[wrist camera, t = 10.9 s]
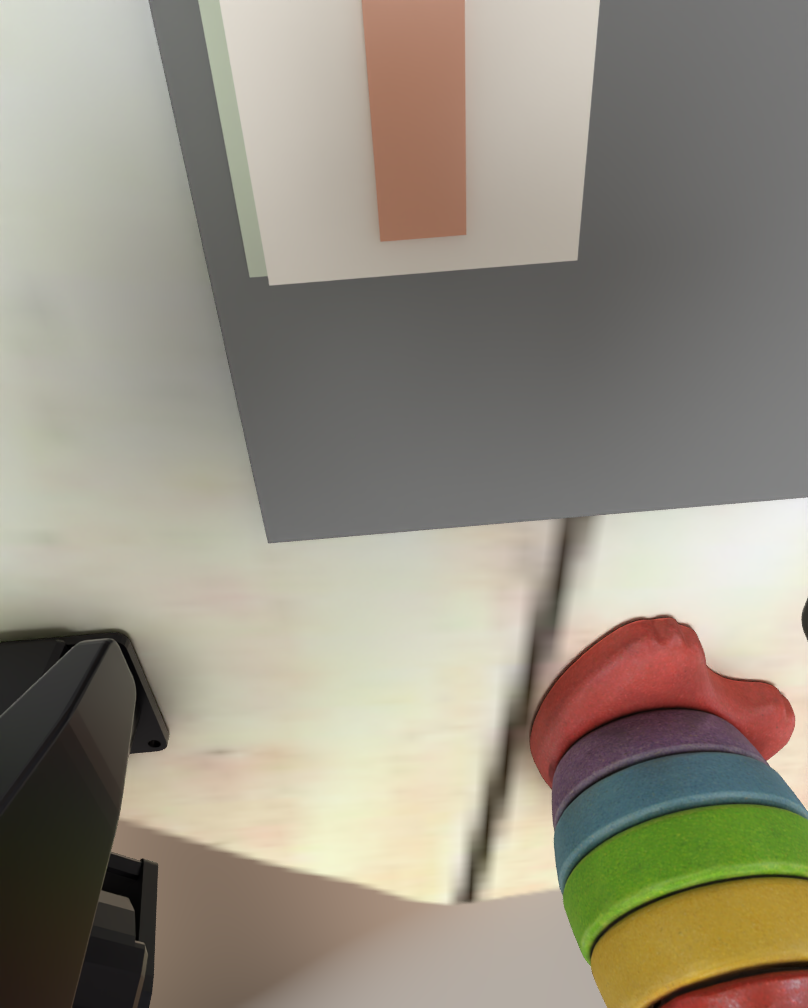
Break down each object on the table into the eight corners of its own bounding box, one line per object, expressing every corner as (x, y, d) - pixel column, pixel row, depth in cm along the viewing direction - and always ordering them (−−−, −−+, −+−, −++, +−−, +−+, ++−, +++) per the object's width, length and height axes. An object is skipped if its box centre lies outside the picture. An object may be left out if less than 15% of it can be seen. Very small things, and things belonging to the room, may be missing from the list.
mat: (923, 476, 23) (937, 488, 22) (269, 531, 23) (267, 545, 22) (1393, -528, 11) (1447, -556, 11) (56, -461, 11) (40, -486, 10)
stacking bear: (803, 703, 30) (1223, 1339, 16) (625, 810, 34) (828, 1390, 20) (651, 597, 26) (1045, 1352, 11) (468, 735, 30) (582, 1414, 15)
